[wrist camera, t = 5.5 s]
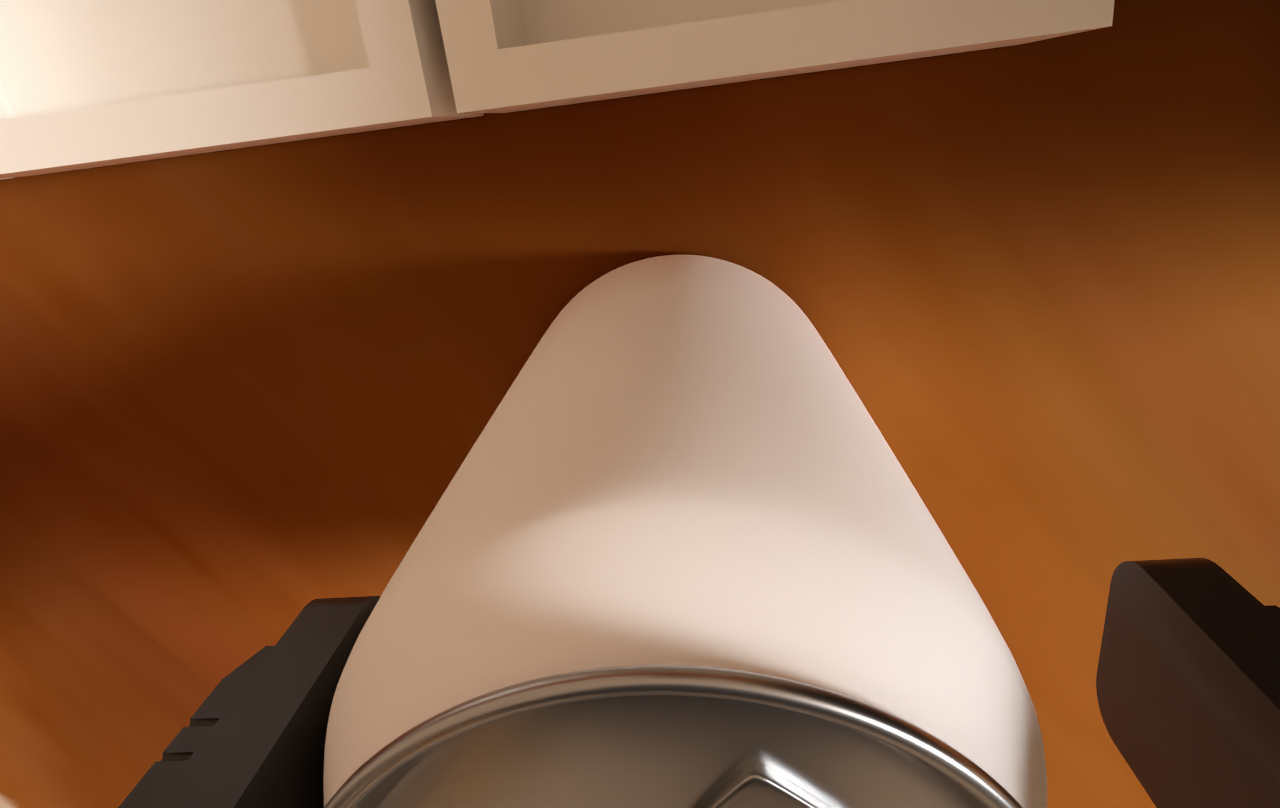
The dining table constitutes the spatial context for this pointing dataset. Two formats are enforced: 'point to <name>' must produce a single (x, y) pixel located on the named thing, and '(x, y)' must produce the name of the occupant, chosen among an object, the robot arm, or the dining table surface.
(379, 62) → the dish
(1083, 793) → the dining table surface
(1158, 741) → the robot arm
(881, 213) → the dining table surface
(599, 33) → the dish
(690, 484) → the can
